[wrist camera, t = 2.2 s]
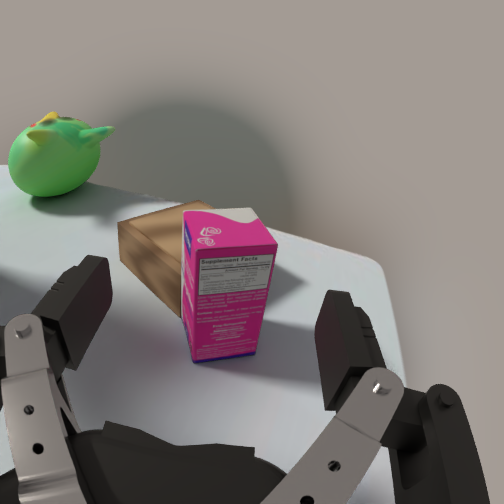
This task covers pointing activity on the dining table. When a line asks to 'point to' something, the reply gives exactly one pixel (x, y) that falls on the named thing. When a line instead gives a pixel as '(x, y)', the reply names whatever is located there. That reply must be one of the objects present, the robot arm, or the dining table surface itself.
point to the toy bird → (55, 155)
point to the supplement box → (224, 281)
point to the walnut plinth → (157, 250)
